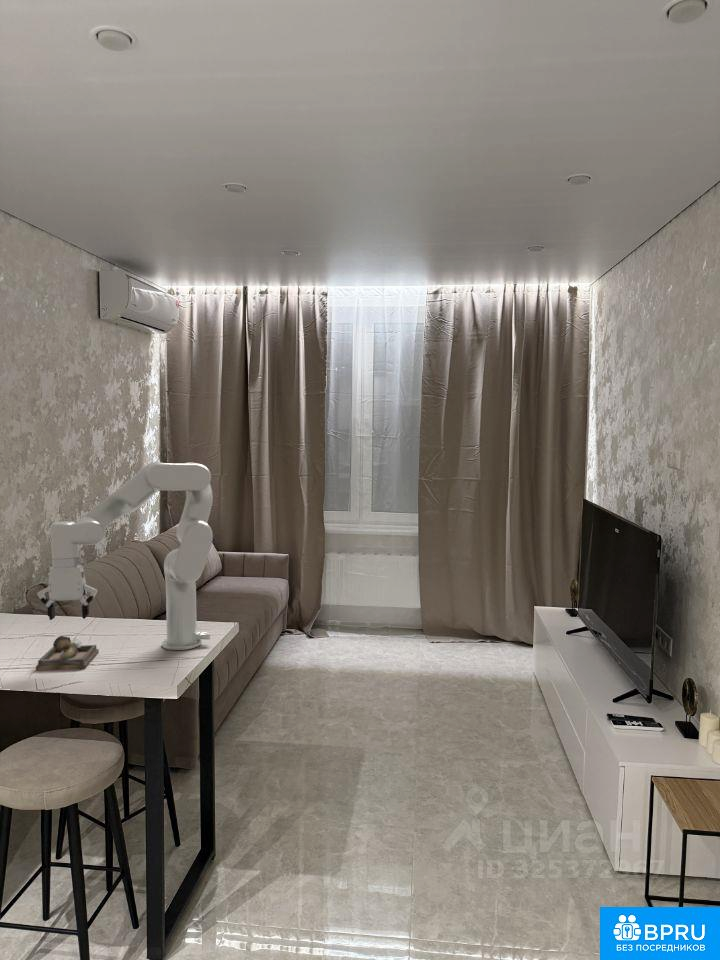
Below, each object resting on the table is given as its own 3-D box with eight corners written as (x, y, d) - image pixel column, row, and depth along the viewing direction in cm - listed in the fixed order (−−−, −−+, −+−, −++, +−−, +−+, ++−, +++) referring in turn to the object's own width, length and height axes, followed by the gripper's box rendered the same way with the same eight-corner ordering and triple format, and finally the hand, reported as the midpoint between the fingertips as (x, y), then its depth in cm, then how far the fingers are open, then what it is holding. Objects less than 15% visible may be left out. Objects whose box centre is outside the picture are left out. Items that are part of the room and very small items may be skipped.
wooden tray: (98, 652, 226) (98, 644, 226) (85, 668, 212) (84, 660, 211) (52, 654, 225) (52, 645, 225) (36, 670, 210) (35, 661, 210)
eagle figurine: (51, 652, 219) (46, 650, 211) (66, 631, 222) (61, 629, 213) (73, 665, 219) (68, 663, 211) (87, 644, 222) (83, 642, 214)
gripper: (98, 559, 220) (101, 613, 222) (40, 561, 219) (43, 615, 220) (91, 564, 213) (94, 620, 215) (31, 566, 211) (34, 622, 213)
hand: (68, 618), depth 217 cm, fingers open, 9 cm apart
